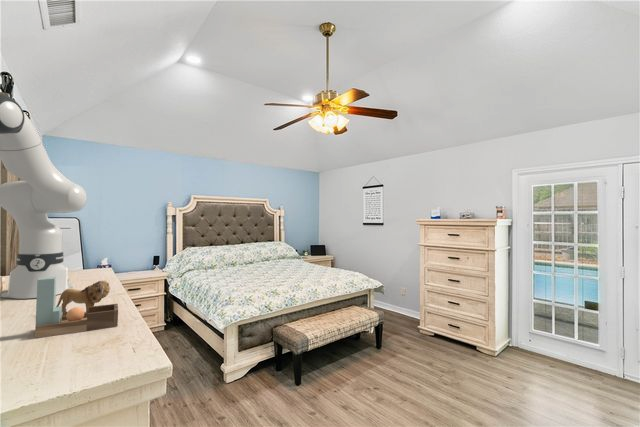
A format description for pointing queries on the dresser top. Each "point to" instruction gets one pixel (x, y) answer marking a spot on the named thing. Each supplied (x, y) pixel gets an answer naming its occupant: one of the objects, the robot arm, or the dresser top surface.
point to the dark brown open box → (102, 317)
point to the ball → (75, 314)
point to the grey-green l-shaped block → (47, 302)
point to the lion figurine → (85, 295)
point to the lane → (61, 327)
